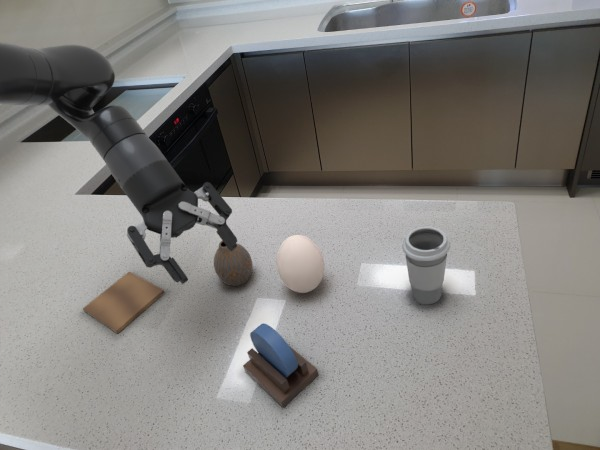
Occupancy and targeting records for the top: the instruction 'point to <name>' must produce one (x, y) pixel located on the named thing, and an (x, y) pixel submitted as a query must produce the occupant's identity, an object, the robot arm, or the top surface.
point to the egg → (300, 264)
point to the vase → (232, 264)
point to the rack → (280, 377)
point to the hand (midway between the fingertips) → (210, 264)
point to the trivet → (123, 301)
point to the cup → (426, 262)
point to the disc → (274, 349)
